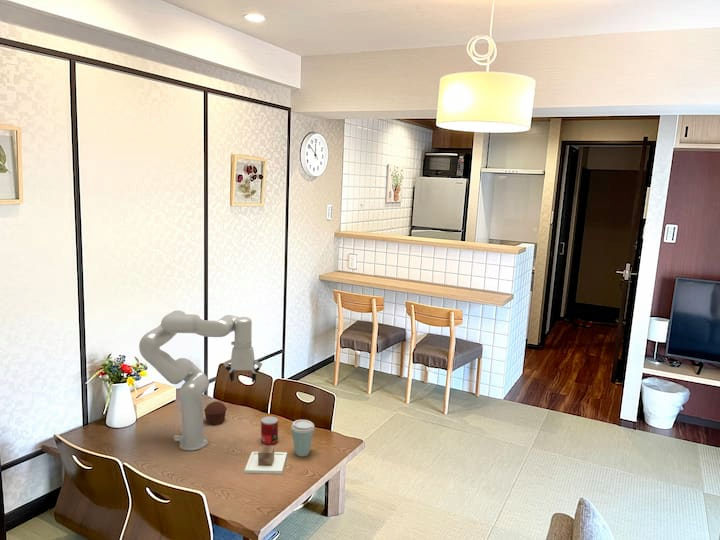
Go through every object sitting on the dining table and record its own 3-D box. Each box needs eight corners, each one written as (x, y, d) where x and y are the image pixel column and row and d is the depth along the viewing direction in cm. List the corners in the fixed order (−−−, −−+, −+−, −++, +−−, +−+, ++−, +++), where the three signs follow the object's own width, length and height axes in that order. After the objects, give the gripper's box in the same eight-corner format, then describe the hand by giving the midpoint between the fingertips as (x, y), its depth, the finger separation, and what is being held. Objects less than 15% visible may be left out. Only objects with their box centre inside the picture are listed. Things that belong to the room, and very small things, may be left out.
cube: (258, 465, 236) (258, 452, 235) (260, 458, 242) (260, 446, 241) (271, 465, 236) (271, 453, 235) (274, 458, 242) (274, 446, 241)
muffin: (202, 418, 282) (202, 400, 281) (224, 415, 287) (224, 397, 285) (206, 428, 272) (206, 409, 270) (228, 424, 276) (228, 406, 275)
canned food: (274, 446, 255) (274, 424, 254) (258, 444, 257) (258, 422, 255) (280, 438, 263) (280, 417, 261) (264, 436, 264) (264, 415, 263)
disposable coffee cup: (304, 445, 257) (304, 415, 254) (319, 453, 249) (319, 423, 247) (286, 452, 249) (286, 422, 247) (301, 461, 242) (301, 430, 239)
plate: (244, 473, 231) (244, 470, 231) (251, 454, 247) (251, 451, 247) (282, 474, 231) (282, 470, 231) (287, 455, 247) (286, 452, 247)
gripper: (221, 346, 241) (221, 383, 244) (260, 348, 241) (260, 384, 244) (226, 341, 248) (226, 377, 251) (263, 342, 248) (263, 378, 251)
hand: (242, 380), depth 247 cm, fingers open, 9 cm apart
